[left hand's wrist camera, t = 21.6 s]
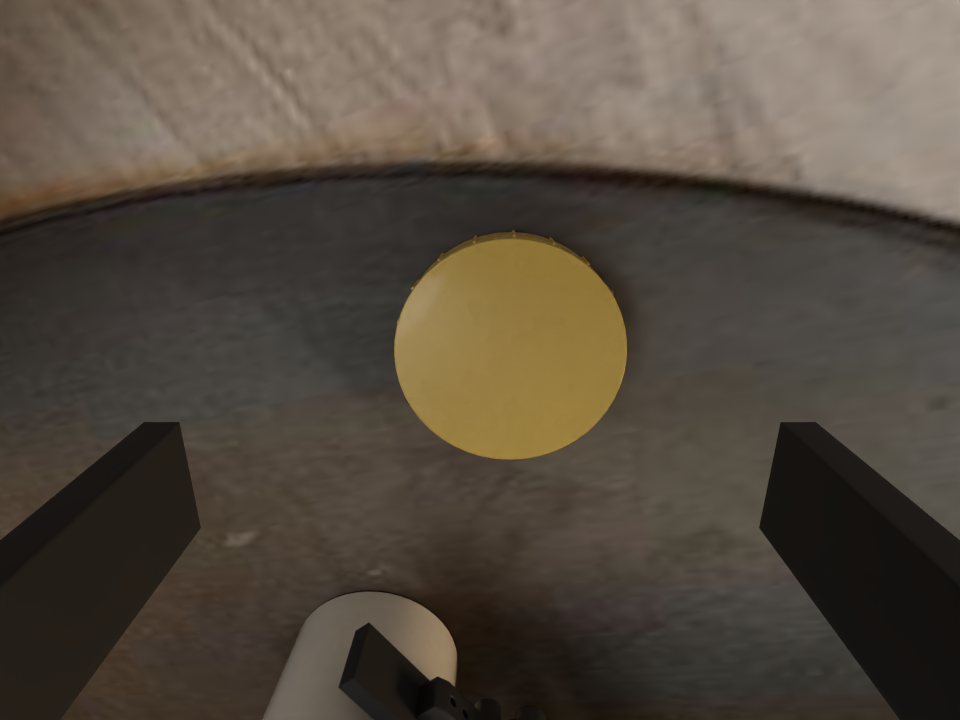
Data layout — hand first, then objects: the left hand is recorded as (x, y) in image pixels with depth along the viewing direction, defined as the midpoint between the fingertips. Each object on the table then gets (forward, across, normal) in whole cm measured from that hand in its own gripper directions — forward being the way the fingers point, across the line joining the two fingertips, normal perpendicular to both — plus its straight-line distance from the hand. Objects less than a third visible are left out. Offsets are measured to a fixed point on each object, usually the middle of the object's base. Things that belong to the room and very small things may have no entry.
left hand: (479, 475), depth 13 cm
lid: (+10, +1, -1) cm, 10 cm away
